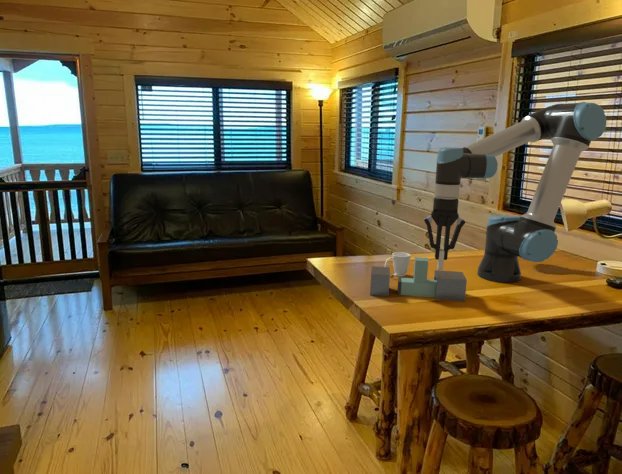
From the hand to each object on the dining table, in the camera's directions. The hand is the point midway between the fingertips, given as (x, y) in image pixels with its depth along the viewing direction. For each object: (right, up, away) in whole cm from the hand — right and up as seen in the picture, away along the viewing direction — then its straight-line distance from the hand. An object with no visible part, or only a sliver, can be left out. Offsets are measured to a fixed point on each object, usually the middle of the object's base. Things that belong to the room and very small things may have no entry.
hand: (439, 269), depth 154 cm
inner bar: (-3, -9, +3) cm, 9 cm away
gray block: (+3, -9, +2) cm, 10 cm away
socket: (-19, -8, +5) cm, 21 cm away
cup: (-10, -4, +22) cm, 25 cm away
